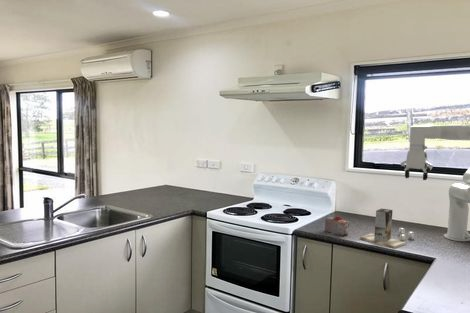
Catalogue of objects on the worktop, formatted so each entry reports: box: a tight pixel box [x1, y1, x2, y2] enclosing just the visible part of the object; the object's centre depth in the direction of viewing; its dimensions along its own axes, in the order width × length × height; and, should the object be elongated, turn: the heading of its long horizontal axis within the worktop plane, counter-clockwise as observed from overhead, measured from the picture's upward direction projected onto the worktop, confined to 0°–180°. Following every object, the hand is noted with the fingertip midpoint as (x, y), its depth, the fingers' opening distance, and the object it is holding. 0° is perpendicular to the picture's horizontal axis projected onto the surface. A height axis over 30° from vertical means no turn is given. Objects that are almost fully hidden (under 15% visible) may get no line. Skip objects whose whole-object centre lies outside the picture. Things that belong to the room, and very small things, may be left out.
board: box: [359, 233, 407, 249], centre depth 211 cm, size 20×12×1 cm, turn 40°
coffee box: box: [374, 208, 393, 242], centre depth 210 cm, size 9×6×16 cm
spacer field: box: [398, 227, 415, 243], centre depth 220 cm, size 17×16×4 cm
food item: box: [324, 216, 350, 237], centre depth 224 cm, size 14×8×10 cm, turn 42°
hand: (415, 178), depth 215 cm, fingers open, 9 cm apart
